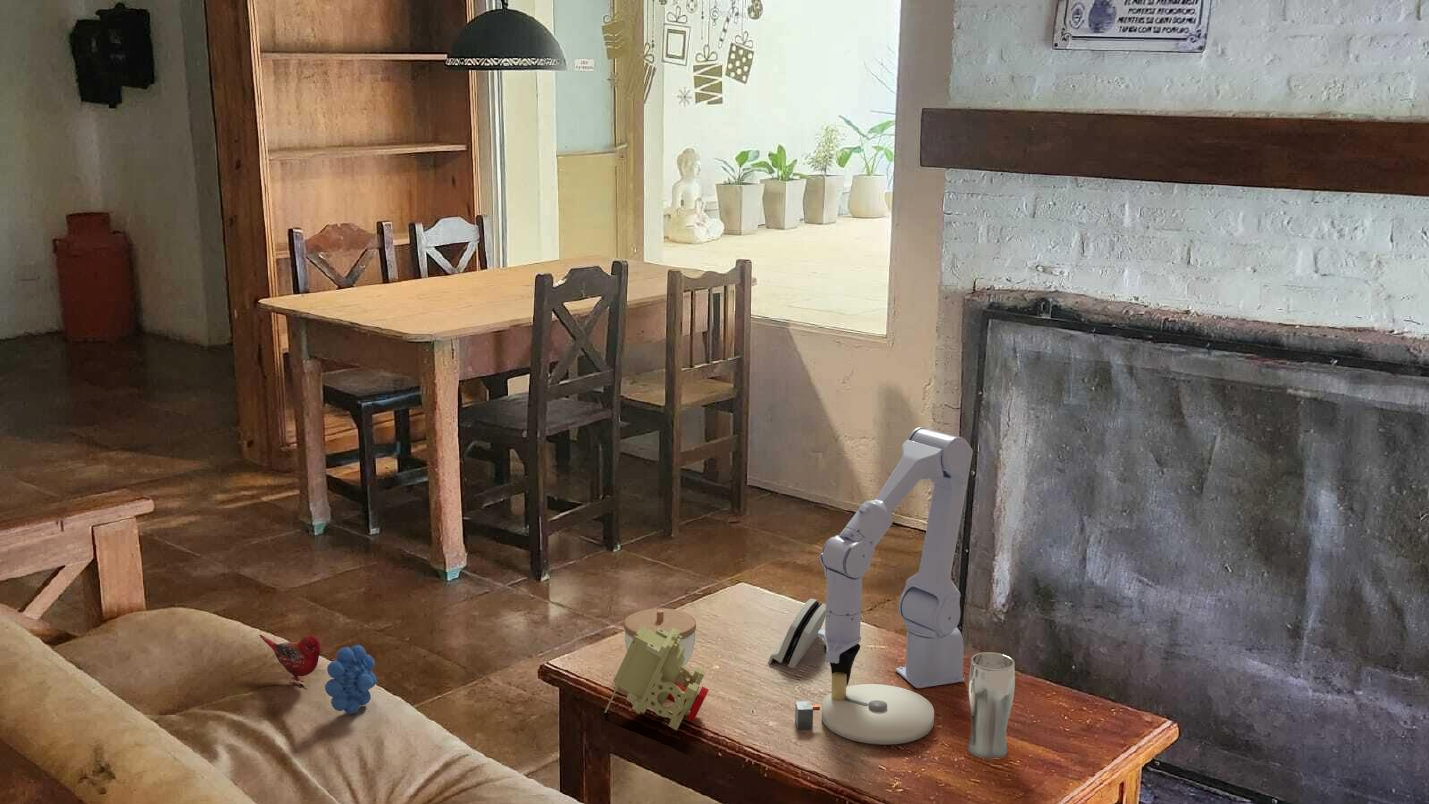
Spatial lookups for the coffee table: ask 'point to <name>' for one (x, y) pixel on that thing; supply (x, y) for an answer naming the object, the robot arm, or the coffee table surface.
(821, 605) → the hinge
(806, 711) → the gray block
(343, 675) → the grapes
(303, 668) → the decorative bird figurine
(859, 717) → the turntable
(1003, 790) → the coffee table surface
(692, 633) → the lidded bowl
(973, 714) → the beer glass
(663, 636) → the mechanical component
